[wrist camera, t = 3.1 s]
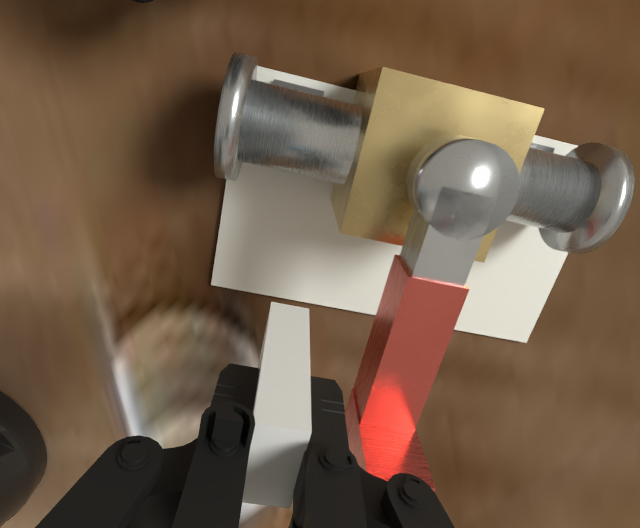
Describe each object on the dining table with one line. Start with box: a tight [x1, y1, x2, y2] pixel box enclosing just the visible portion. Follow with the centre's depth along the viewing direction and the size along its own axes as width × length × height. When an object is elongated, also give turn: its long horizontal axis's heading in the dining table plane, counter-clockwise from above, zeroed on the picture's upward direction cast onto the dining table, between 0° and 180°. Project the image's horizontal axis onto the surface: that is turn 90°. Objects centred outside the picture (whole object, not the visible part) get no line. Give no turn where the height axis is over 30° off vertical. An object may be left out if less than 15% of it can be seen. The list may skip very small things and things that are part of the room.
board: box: [211, 66, 578, 343], centre depth 30 cm, size 25×15×1 cm, turn 77°
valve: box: [214, 52, 634, 263], centre depth 24 cm, size 22×8×10 cm, turn 77°
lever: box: [345, 135, 520, 492], centre depth 19 cm, size 17×4×6 cm, turn 167°
